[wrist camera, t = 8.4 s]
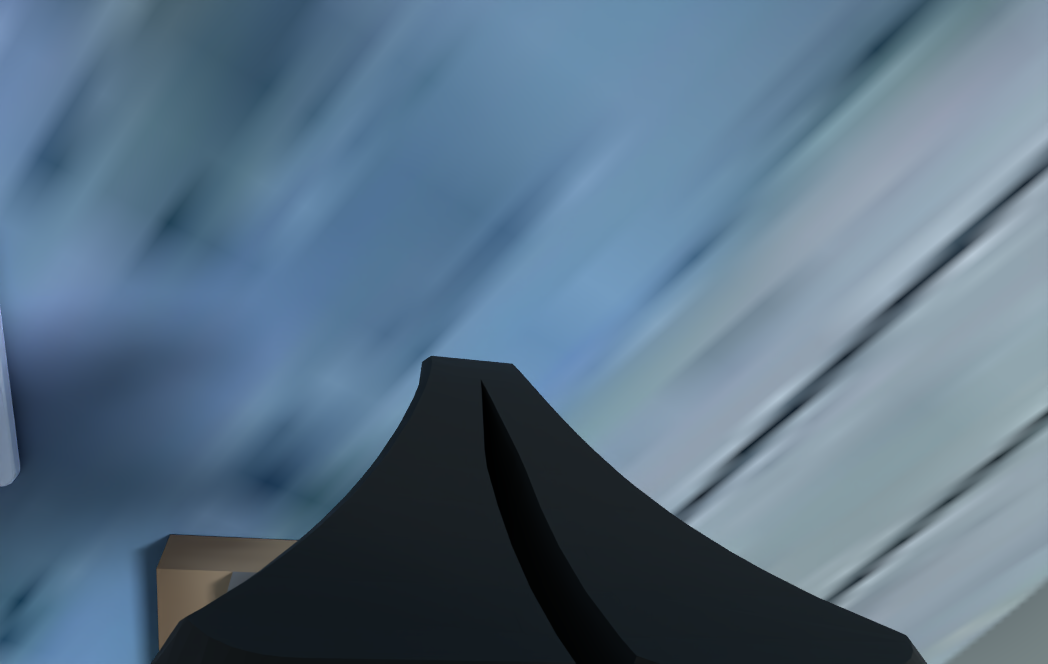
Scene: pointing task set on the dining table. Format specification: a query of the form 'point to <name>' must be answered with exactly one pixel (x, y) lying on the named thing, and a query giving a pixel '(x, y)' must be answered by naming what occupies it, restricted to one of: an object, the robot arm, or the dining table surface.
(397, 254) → the dining table surface
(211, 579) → the rail board
